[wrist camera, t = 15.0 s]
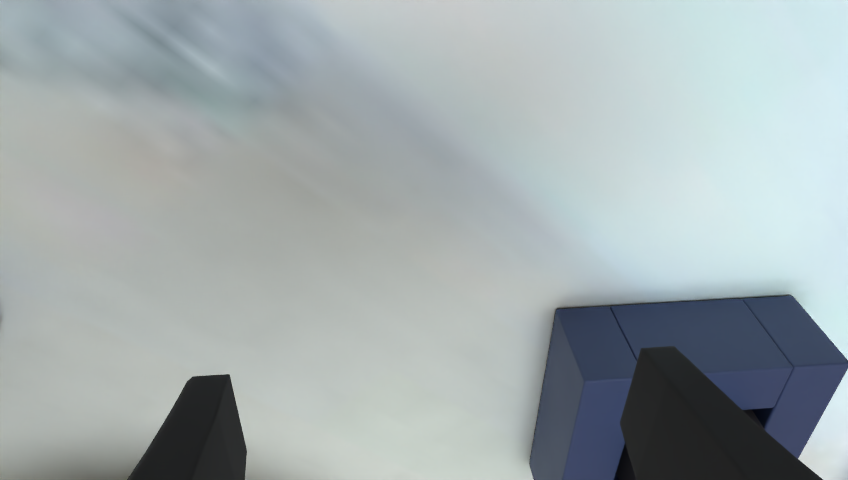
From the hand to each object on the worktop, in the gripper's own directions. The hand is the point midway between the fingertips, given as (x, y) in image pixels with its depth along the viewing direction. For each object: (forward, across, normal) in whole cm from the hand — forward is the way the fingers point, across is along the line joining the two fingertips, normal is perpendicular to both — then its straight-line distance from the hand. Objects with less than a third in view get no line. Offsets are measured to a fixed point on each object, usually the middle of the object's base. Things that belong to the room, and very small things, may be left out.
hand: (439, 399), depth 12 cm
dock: (+9, -10, +11) cm, 18 cm away
